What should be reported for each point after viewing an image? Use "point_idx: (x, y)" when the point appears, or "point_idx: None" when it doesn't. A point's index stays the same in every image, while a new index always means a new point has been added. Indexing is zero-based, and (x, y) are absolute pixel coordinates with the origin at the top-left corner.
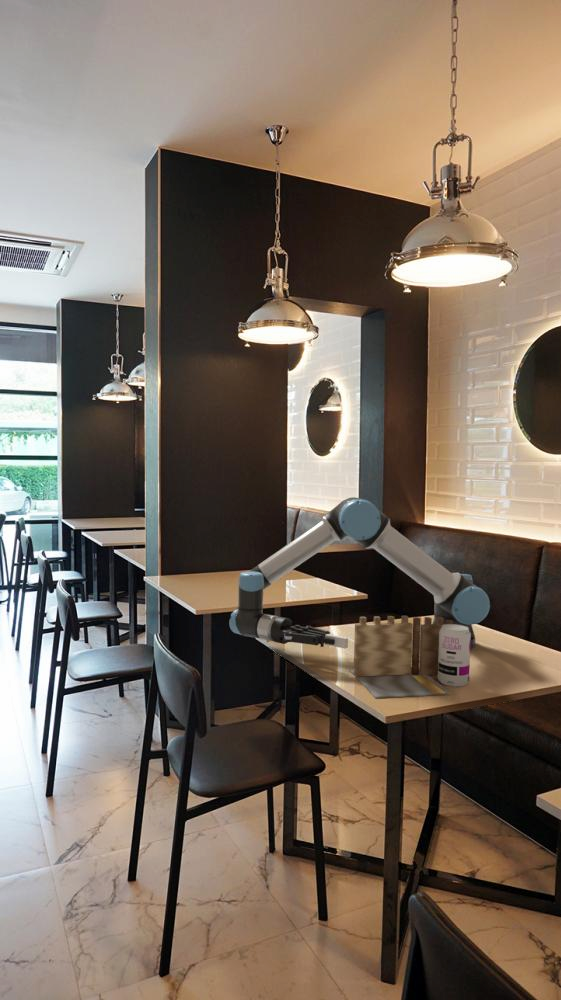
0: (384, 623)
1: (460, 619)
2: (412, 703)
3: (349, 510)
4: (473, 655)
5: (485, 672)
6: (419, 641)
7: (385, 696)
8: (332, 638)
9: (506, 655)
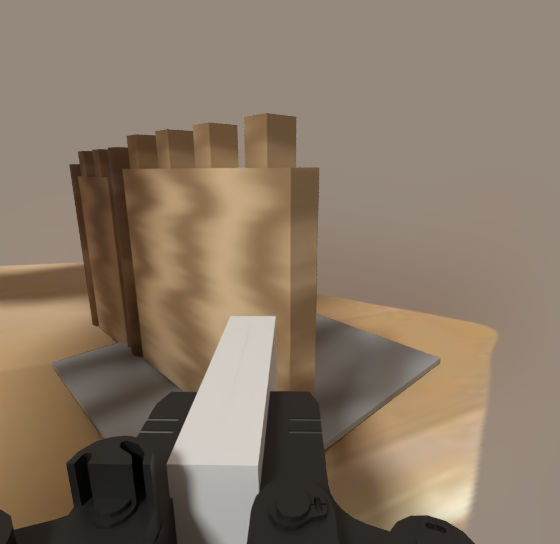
0: (181, 168)
1: None
2: (382, 319)
3: None
4: None
5: (70, 295)
6: None
7: (409, 347)
8: (267, 407)
9: None
